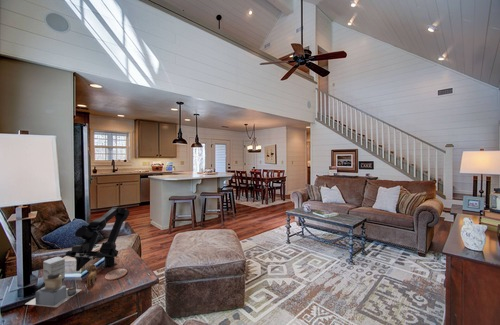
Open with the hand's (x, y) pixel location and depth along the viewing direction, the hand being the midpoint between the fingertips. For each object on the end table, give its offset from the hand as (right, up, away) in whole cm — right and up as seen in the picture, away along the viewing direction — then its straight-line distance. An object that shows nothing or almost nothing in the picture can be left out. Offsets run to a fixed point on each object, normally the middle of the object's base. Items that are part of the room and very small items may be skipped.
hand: (77, 271), depth 121 cm
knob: (-3, -8, -11) cm, 14 cm away
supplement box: (-18, -9, +6) cm, 22 cm away
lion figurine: (+4, -10, +5) cm, 12 cm away
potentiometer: (+3, -8, -7) cm, 11 cm away
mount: (-4, -10, -9) cm, 14 cm away
